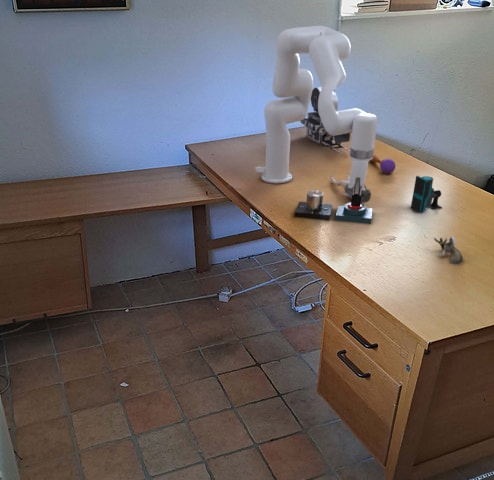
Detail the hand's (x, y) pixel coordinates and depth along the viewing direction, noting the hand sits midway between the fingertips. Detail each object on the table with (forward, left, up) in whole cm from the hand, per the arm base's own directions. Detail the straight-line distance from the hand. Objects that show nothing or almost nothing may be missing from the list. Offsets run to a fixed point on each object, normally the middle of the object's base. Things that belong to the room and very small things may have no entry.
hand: (355, 205), depth 192 cm
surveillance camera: (+24, +14, -5) cm, 29 cm away
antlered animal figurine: (+29, -23, -5) cm, 38 cm away
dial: (-14, 0, -3) cm, 14 cm away
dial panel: (-14, 0, -5) cm, 15 cm away
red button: (0, 0, -2) cm, 2 cm away
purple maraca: (+7, +55, -5) cm, 56 cm away
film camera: (-20, +83, -5) cm, 86 cm away
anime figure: (-3, +21, -5) cm, 22 cm away
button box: (0, 0, -5) cm, 5 cm away
